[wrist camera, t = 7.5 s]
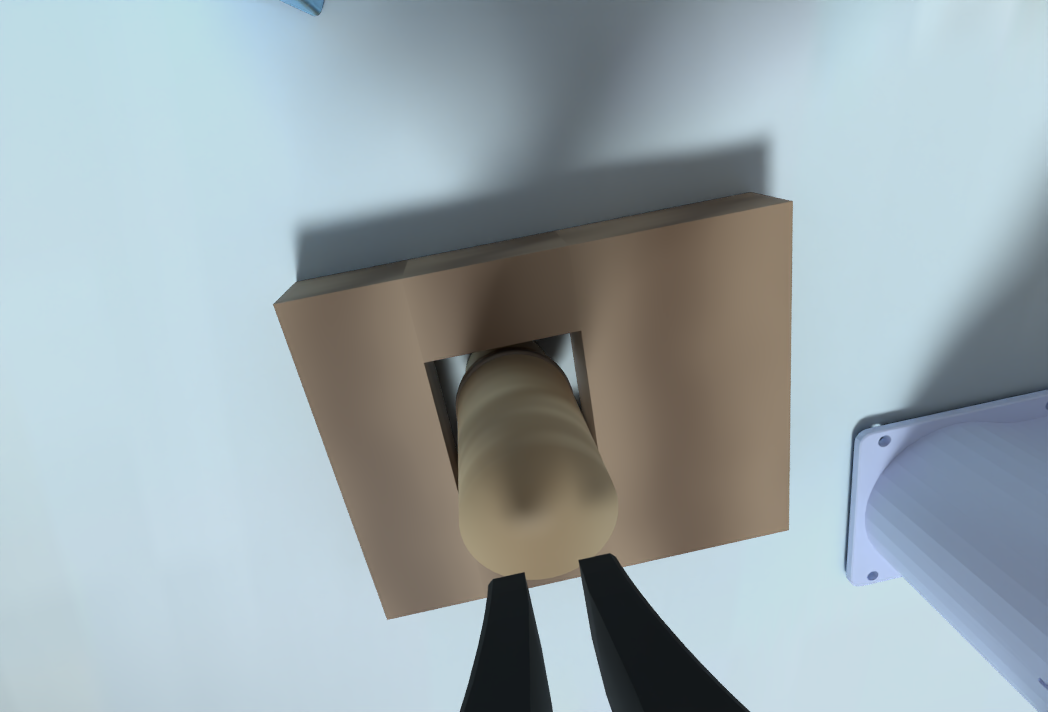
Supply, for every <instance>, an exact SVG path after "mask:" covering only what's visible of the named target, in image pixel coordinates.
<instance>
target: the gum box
mask: <svg viewBox="0 0 1048 712" xmlns="http://www.w3.org/2000/svg"><path fill="white" fill-rule="evenodd" d="M280 1H282V2H284V3H287V4H289V5H291V6H293V7H295V8H297V9H300V10H302V11H304V12H306V13H308V14H311V15H313V16H316V15H319V14H320V13H321V10H322V7H323V3H324V0H280Z"/></svg>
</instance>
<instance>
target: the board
mask: <svg viewBox="0 0 1048 712" xmlns="http://www.w3.org/2000/svg"><path fill="white" fill-rule="evenodd" d="M792 219H793V201H789V200H785V199H780V198H775V197H771V196H766V195H762V194H757V193H752V192H749V193H744V194H739V195H734V196H729V197H724V198H719V199H713V200H708V201H703V202H698V203H693V204H688V205H683V206H678V207H673V208H668V209H663V210H658V211H653V212H648V213H643V214H637V215H632V216H627V217H622V218H617V219H612V220H607V221H602V222H597V223H592V224H587V225H582V226H577V227H572V228H566V229H561V230H556V231H551V232H546V233H541V234H536V235H531V236H526V237H521V238H516V239H511V240H506V241H501V242H495V243H490V244H485V245H480V246H475V247H470V248H465V249H460V250H455V251H450V252H445V253H440V254H435V255H430V256H425V257H419V258H414V259H409V260H404V261H399V262H394V263H389V264H384V265H379V266H374V267H369V268H364V269H359V270H354V271H348V272H343V273H338V274H333V275H328V276H323V277H318V278H313V279H308V280H303V281H298V282H295V283H294V284H293V285H292V286H291V287H290V288H289V289H288V290H287V291H286V292H285V293H284V294H283V295H282V296H281V297H280V298H279V299H278V300H277V301H276V302H275V303H274V304H273V305H274V308H275V311H276V314H277V317H278V319H279V322H280V325H281V328H282V330H283V333H284V336H285V339H286V341H287V344H288V347H289V350H290V352H291V355H292V358H293V361H294V363H295V366H296V369H297V372H298V375H299V377H300V380H301V383H302V386H303V388H304V391H305V394H306V397H307V399H308V402H309V405H310V408H311V410H312V413H313V416H314V419H315V421H316V424H317V427H318V430H319V433H320V435H321V438H322V441H323V444H324V446H325V449H326V452H327V455H328V457H329V460H330V463H331V466H332V468H333V471H334V474H335V477H336V480H337V482H338V485H339V488H340V491H341V493H342V496H343V499H344V502H345V504H346V507H347V510H348V513H349V515H350V518H351V521H352V524H353V526H354V529H355V532H356V535H357V538H358V540H359V543H360V546H361V549H362V551H363V554H364V557H365V560H366V562H367V565H368V568H369V571H370V573H371V576H372V579H373V582H374V584H375V587H376V590H377V593H378V596H379V598H380V601H381V604H382V607H383V609H384V612H385V615H386V618H387V620H389V619H393V618H398V617H402V616H407V615H411V614H416V613H420V612H425V611H429V610H434V609H438V608H442V607H447V606H451V605H456V604H460V603H465V602H469V601H474V600H478V599H483V598H487V593H488V584H489V583H490V582H491V581H492V580H493V579H495V578H500V577H504V576H503V575H500V574H498V573H495V572H493V571H491V570H490V569H488V568H486V567H485V566H483V565H482V564H481V563H479V562H478V561H477V560H476V559H475V558H474V557H473V556H472V554H471V553H470V552H469V551H468V549H467V547H466V546H465V544H464V542H463V539H462V536H461V533H460V528H459V489H458V453H457V449H456V445H455V441H454V437H453V433H452V429H451V425H450V421H449V418H448V414H447V410H446V406H445V402H444V398H443V394H442V390H441V386H440V382H439V379H438V375H437V371H436V367H435V363H434V361H435V360H440V359H445V358H450V357H455V356H459V355H464V354H469V353H474V352H479V351H484V350H489V349H494V348H498V347H503V346H508V345H513V344H518V343H523V342H528V341H533V340H537V339H542V338H547V337H552V336H557V335H562V334H567V333H570V337H571V343H572V350H573V357H574V363H575V370H576V377H577V383H578V390H579V396H580V403H581V410H582V415H583V418H584V420H585V422H586V424H587V426H588V429H589V431H590V433H591V435H592V438H593V440H594V442H595V444H596V446H597V449H598V451H599V453H600V455H601V458H602V460H603V462H604V464H605V466H606V469H607V471H608V473H609V475H610V478H611V480H612V482H613V484H614V487H615V490H616V493H617V497H618V517H617V521H616V525H615V527H614V530H613V532H612V534H611V536H610V538H609V540H608V541H607V543H606V544H605V545H604V547H603V548H602V549H601V550H600V551H599V552H598V553H597V554H596V555H595V556H599V555H603V554H608V553H611V554H612V555H614V556H616V557H617V559H618V561H619V563H620V564H621V566H622V567H626V566H630V565H635V564H639V563H644V562H648V561H653V560H657V559H661V558H666V557H670V556H675V555H679V554H684V553H688V552H693V551H697V550H702V549H706V548H711V547H715V546H720V545H724V544H729V543H733V542H737V541H742V540H746V539H751V538H755V537H760V536H764V535H769V534H773V533H778V532H782V531H787V530H789V472H790V388H791V303H792ZM577 577H581V573H580V567H578V568H577V569H575V570H573V571H571V572H568V573H565V574H563V575H560V576H556V577H553V578H547V579H540V580H526V581H527V585H528V588H532V587H536V586H541V585H545V584H550V583H554V582H559V581H563V580H568V579H572V578H577Z"/></svg>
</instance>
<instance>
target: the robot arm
mask: <svg viewBox="0 0 1048 712" xmlns="http://www.w3.org/2000/svg"><path fill="white" fill-rule="evenodd" d="M881 437H883V438H882V439H881V440H880V441H879V439H880V438H881ZM578 561H579V567H580V573H581V578H582V584H583V590H584V596H585V601H586V607H587V613H588V619H589V624H590V630H591V636H592V640H593V644H594V648H595V652H596V656H597V660H598V664H599V668H600V672H601V676H602V680H603V684H604V688H605V692H606V695H607V698H608V701H609V704H610V707H611V710H612V712H750V711H749V710H748V709H747V708H746V707H745V706H743V705H742V704H741V703H740V702H739V701H738V700H737V699H736V698H735V697H734V696H733V695H732V694H731V693H730V692H729V691H728V690H727V689H726V688H725V687H724V686H723V685H722V684H721V683H720V682H719V681H718V680H717V679H716V678H715V677H714V676H713V675H712V674H711V673H710V672H709V671H708V670H707V669H706V668H705V667H704V666H703V665H702V664H701V663H700V662H699V661H698V659H697V658H696V657H695V656H694V655H693V654H692V653H691V652H690V651H689V650H688V649H687V648H686V647H685V645H684V644H683V643H682V642H681V641H680V640H679V639H678V637H677V636H676V635H675V634H674V633H673V632H672V630H671V629H670V628H669V627H668V626H667V625H666V624H665V622H664V621H663V620H662V619H661V618H660V617H659V615H658V614H657V613H656V612H655V611H654V609H653V608H652V607H651V606H650V604H649V603H648V602H647V600H646V599H645V598H644V597H643V595H642V594H641V593H640V591H639V590H638V589H637V587H636V586H635V585H634V583H633V582H632V581H631V579H630V578H629V576H628V575H627V573H626V572H625V570H624V569H623V567H622V566H621V564H620V563H619V561H618V559H617V557H616V556H614V555H612V554H611V553H608V554H603V555H599V556H594V557H590V558H585V559H581V560H578ZM846 577H847V579H848V580H849V581H850V582H851V584H852V585H854V586H864V585H868V584H872V583H877V582H881V581H886V580H890V579H894V578H899V577H903V578H904V579H905V580H906V581H907V582H908V583H909V584H910V585H911V586H912V587H913V588H914V589H915V590H916V591H917V592H918V593H919V594H920V595H921V596H922V597H923V598H924V599H925V600H926V601H927V602H928V603H929V604H930V605H932V606H933V607H934V608H935V609H936V610H937V611H938V612H939V613H940V614H941V615H942V616H943V617H944V618H945V619H946V620H947V621H948V622H949V623H950V624H951V625H952V626H953V627H954V628H955V629H956V630H957V631H958V632H959V633H960V634H961V635H962V636H963V637H964V638H965V639H966V640H967V641H968V642H969V643H970V644H971V645H972V646H973V647H974V648H975V649H976V650H977V651H978V652H979V653H980V654H981V655H982V656H983V657H984V658H985V659H986V660H987V661H988V662H989V663H990V664H991V665H992V666H993V667H994V668H995V669H996V670H997V671H998V672H999V673H1000V674H1001V675H1002V676H1003V677H1004V678H1005V679H1006V680H1007V681H1008V682H1009V683H1010V684H1011V685H1012V686H1013V687H1014V688H1015V689H1016V690H1017V691H1018V692H1019V693H1020V694H1021V695H1022V696H1023V697H1024V698H1025V699H1026V700H1027V701H1028V702H1029V703H1030V704H1031V705H1032V706H1033V707H1034V708H1035V709H1036V710H1037V711H1038V712H1048V389H1047V390H1043V391H1038V392H1034V393H1029V394H1024V395H1020V396H1015V397H1010V398H1006V399H1001V400H997V401H992V402H987V403H983V404H978V405H974V406H969V407H964V408H960V409H955V410H951V411H946V412H941V413H937V414H932V415H928V416H923V417H918V418H914V419H909V420H905V421H900V422H895V423H891V424H886V425H882V426H877V427H872V428H868V429H865V430H863V431H861V432H860V433H859V434H858V435H857V437H856V439H855V444H854V459H853V475H852V491H851V507H850V522H849V538H848V554H847V569H846ZM460 712H553V710H552V703H551V697H550V692H549V686H548V681H547V675H546V670H545V664H544V659H543V653H542V648H541V644H540V639H539V635H538V630H537V626H536V621H535V617H534V612H533V608H532V603H531V599H530V594H529V590H528V585H527V581H526V577H525V572H522V573H518V574H513V575H509V576H504V577H500V578H495V579H493V580H492V581H491V582H490V583H489V584H488V593H487V602H486V609H485V615H484V620H483V626H482V630H481V635H480V640H479V644H478V649H477V652H476V656H475V660H474V664H473V668H472V671H471V675H470V679H469V683H468V687H467V690H466V693H465V697H464V700H463V703H462V706H461V709H460Z"/></svg>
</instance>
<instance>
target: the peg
mask: <svg viewBox="0 0 1048 712" xmlns="http://www.w3.org/2000/svg"><path fill="white" fill-rule="evenodd" d="M456 417H457V422H458V489H459V528H460V533H461V536H462V539H463V542H464V544H465V546H466V547H467V549H468V551H469V552H470V553H471V554H472V556H473V557H474V558H475V559H476V560H477V561H478V562H479V563H481V564H482V565H483V566H485V567H486V568H488V569H490V570H491V571H493V572H495V573H498V574H500V575H503V576H509V575H513V574H518V573H522V572H525V577H526V580H540V579H547V578H553V577H556V576H560V575H563V574H565V573H568V572H571V571H573V570H575V569H577V568H578V567H579V561H578V560H581V559H585V558H590V557H594V556H595V555H596V554H597V553H598V552H599V551H600V550H601V549H602V548H603V547H604V545H605V544H606V543H607V541H608V540H609V538H610V536H611V534H612V532H613V530H614V527H615V525H616V521H617V517H618V497H617V493H616V490H615V487H614V484H613V482H612V480H611V478H610V475H609V473H608V471H607V469H606V466H605V464H604V462H603V460H602V458H601V455H600V453H599V451H598V449H597V446H596V444H595V442H594V440H593V438H592V435H591V433H590V431H589V429H588V426H587V424H586V422H585V420H584V418H583V415H582V413H581V411H580V409H579V406H578V404H577V402H576V400H575V398H574V395H573V391H572V388H571V385H570V383H569V380H568V378H567V377H566V375H565V373H564V372H563V370H562V369H561V368H560V367H559V366H558V365H557V364H556V363H555V362H554V361H553V360H552V359H551V358H550V357H548V356H547V355H546V354H545V353H544V351H543V350H542V349H541V347H540V346H539V345H538V344H536V343H535V342H534V341H528V342H523V343H518V344H513V345H508V346H503V347H498V348H494V349H489V350H484V351H479V352H474V353H472V355H471V356H470V358H469V360H468V363H467V366H466V373H465V375H464V376H463V378H462V380H461V383H460V385H459V388H458V392H457V396H456Z"/></svg>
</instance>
